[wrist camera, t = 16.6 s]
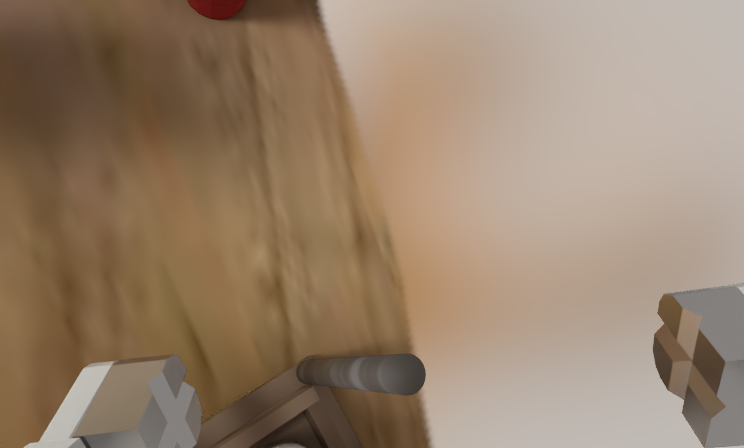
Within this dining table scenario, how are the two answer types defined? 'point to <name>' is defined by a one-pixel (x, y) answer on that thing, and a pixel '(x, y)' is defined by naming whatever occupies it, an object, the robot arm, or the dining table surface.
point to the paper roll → (283, 444)
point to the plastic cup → (217, 8)
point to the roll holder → (309, 403)
